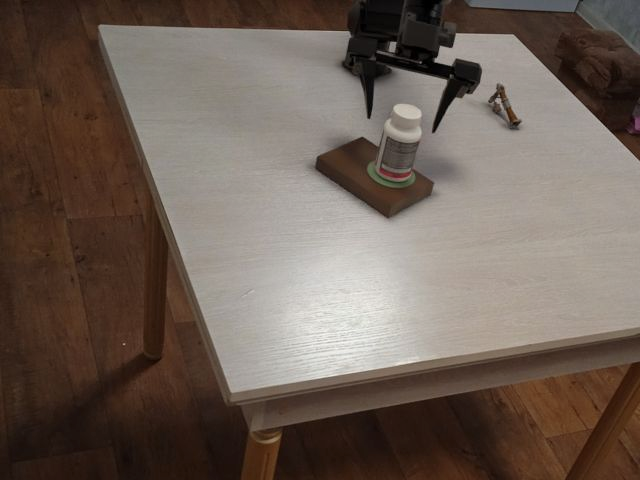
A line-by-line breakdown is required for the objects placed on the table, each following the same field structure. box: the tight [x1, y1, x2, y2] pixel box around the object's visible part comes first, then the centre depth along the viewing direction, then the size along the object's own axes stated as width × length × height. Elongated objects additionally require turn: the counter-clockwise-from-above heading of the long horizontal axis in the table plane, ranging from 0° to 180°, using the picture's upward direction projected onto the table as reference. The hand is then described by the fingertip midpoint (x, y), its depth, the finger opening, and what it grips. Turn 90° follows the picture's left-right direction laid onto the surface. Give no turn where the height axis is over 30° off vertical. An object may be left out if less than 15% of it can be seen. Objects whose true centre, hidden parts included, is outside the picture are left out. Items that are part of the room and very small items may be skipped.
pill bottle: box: [375, 103, 423, 182], centre depth 114 cm, size 5×5×10 cm
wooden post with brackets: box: [487, 82, 523, 129], centre depth 140 cm, size 2×8×4 cm, turn 30°
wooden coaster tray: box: [314, 136, 435, 218], centre depth 118 cm, size 10×14×2 cm
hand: (401, 125), depth 115 cm, fingers open, 9 cm apart
